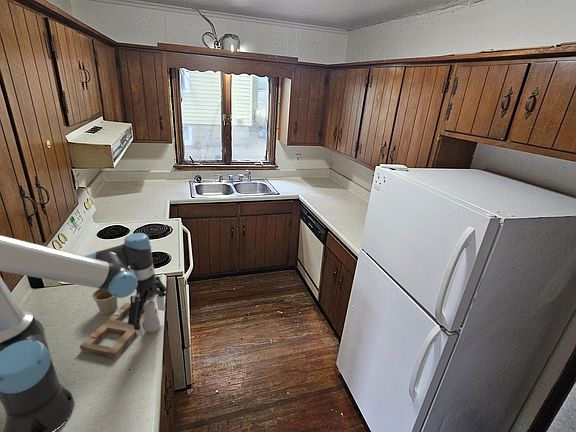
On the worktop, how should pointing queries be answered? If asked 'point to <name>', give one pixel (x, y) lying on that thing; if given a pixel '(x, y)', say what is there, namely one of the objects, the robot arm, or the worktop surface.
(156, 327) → the salt shaker
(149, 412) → the worktop surface
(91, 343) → the socket board
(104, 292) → the flower pot
